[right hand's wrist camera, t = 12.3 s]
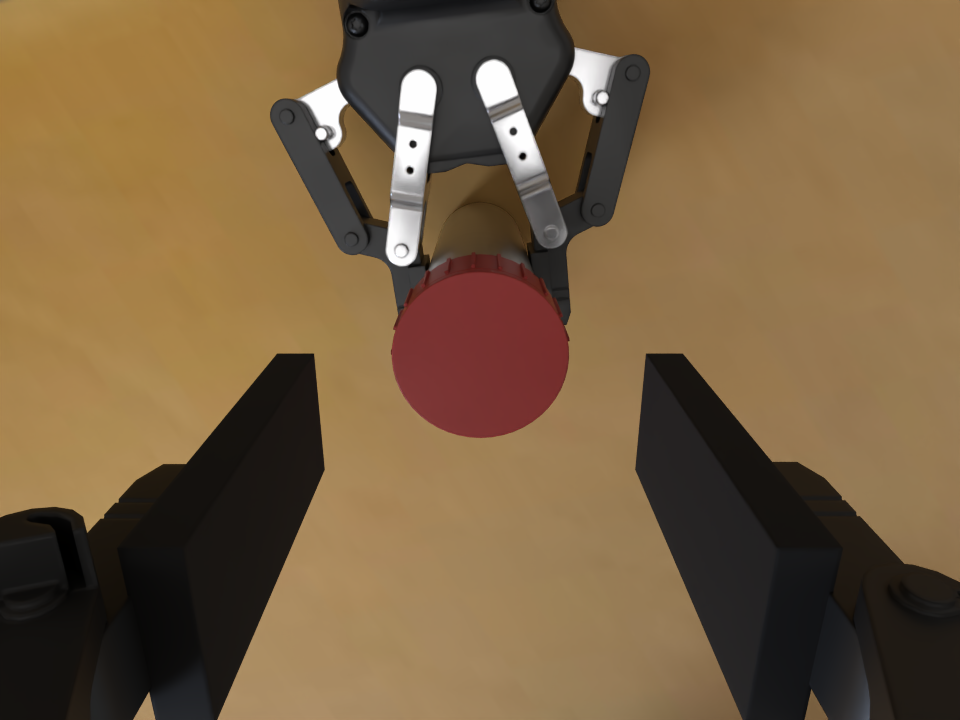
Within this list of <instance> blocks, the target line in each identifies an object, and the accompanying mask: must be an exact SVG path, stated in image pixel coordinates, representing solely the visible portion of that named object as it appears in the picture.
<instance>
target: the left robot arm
mask: <svg viewBox="0 0 960 720" xmlns="http://www.w3.org/2000/svg"><path fill="white" fill-rule="evenodd" d="M338 2H339V8H340V14H341V20H342V26H343V48H342V53H341V57H340V60H339V63H338V66H337V79H335V80H333V81H331V82H329V83H327V84H325V85H324V86H322V87H320V88H318V89H316V90H314V91H312V92H310V93H308V94H306V95H304V96H302V97H300V98H298V99H280V100H278V101H277V102H275V103H274V105H273V106H272V108H271V112H270V118H271V122H272V124H273V126H274V128H275V130H276V132H277V134H278V135H279V137H280V139H281V141H282V143H283V145H284V147H285V148H286V150H287V152H288V154H289V156H290V158H291V160H292V162H293V163H294V165H295V167H296V169H297V171H298V173H299V175H300V176H301V178H302V180H303V182H304V184H305V186H306V188H307V189H308V191H309V193H310V195H311V197H312V199H313V201H314V203H315V204H316V206H317V208H318V210H319V212H320V214H321V216H322V217H323V219H324V221H325V223H326V225H327V227H328V229H329V231H330V232H331V234H332V236H333V238H334V240H335V242H336V244H337V245H338V247H339V249H340V250H341V251H343V252H344V253H346V254H349V255H357V254H362V255H367V256H371V257H375V258H378V259H381V260H382V261H384V262H385V263H386V264H387V265H388V267H389V268H390V271H391V274H392V280H393V286H394V291H395V297H396V303H397V309H398V315H399V313H400V310H401V309H402V310H403V309H404V307H405V306H403V305H404V303H405V300H406V298H407V295H408V293H409V290H410V289H411V288H413V289H414V288H415V286H416V285H417V284H418V283H419V281H420V280H421V279H422V278H423V277H424V275H425V272H426V271H427V270H428V269H429V266H430V258H429V254H428V255H424V254H423V247H422V241H423V234H424V226H425V218H426V210H427V203H428V197H429V192H430V185H431V177H432V173H439V172H446V171H449V170H451V169H453V168H456V167H458V166H461V165H463V164H466V163H470V164H477V165H484V166H495V165H503V164H507V167H508V169H509V172H510V174H511V177H512V179H513V182H514V184H515V187H516V189H517V192H518V195H519V197H520V200H521V202H522V205H523V207H524V210H525V212H526V215H527V218H528V220H529V223H530V229H531V240H532V243H527V250H528V258H529V261H530V264H531V267H532V270H533V273H534V275H535V276H537V277H538V278H539V279H540V278H542V279H543V280H544V283H545V285H546V288H547V290H548V291H549V293H550V294H551V296H552V298H556V300H557V303H558V305H559V307H560V310H561V312H562V315H563V317H561V320H562V321H563V324H564V325H567V322H568V319H569V316H570V313H571V310H570V298H569V284H568V271H567V258H566V250H567V246H568V244H569V242H570V240H571V239H572V238H573V237H574V236H575V235H577V234H579V233H581V232H583V231H585V230H587V229H589V228H591V227H593V226H596V227H598V226H603V225H605V224H606V223H608V222H609V221H610V220H611V218H612V216H613V214H614V210H615V206H616V202H617V198H618V195H619V191H620V187H621V183H622V179H623V175H624V172H625V168H626V164H627V160H628V156H629V152H630V149H631V145H632V141H633V137H634V133H635V129H636V126H637V122H638V118H639V114H640V110H641V106H642V103H643V99H644V95H645V91H646V87H647V83H648V80H649V75H650V68H649V64H648V62H647V61H646V59H644V58H643V57H642V56H640V55H637V54H631V55H625V56H622V57H616V56H612V55H607V54H603V53H598V52H593V51H589V50H584V49H580V48H575V47H574V42H573V39H572V37H571V35H570V33H569V32H568V30H567V28H566V27H565V25H564V24H563V21H562V19H561V17H560V14H559V11H558V7H557V2H556V0H338ZM568 77H570V78H572V79H573V80H574V81H575V82H576V83H577V85H578V87H579V90H580V96H579V103H580V106H581V108H582V110H583V111H584V112H585V113H586V114H588V115H591V116H593V120H592V124H591V129H590V133H589V137H588V141H587V145H586V149H585V154H584V158H583V162H582V166H581V170H580V175H579V179H578V183H577V187H576V191H575V194H573V195H571V196H569V197H567V198H565V199H563V200H561V201H559V202H557V200H556V197H555V194H554V192H553V189H552V186H551V183H550V179H549V176H548V173H547V171H546V168H545V165H544V162H543V160H542V157H541V154H540V152H539V149H538V146H537V144H536V141H535V138H534V137H535V135H536V133H537V132H538V130H539V128H540V126H541V124H542V123H543V121H544V119H545V117H546V115H547V114H548V112H549V110H550V108H551V106H552V105H553V103H554V101H555V99H556V97H557V96H558V94H559V92H560V90H561V88H562V87H563V85H564V83H565V81H566V79H567V78H568ZM349 106H351V107H352V108H353V109H354V110H355V111H356V112H357V113H358V114H359V115H360V116H361V117H362V118H363V120H364V121H365V122H366V123H367V124H368V125H369V126H370V127H371V128H372V129H373V130H374V131H375V132H376V134H377V135H378V136H379V137H380V138H381V139H382V140H383V141H384V142H385V143H386V144H387V145H388V146H389V148H390V149H391V150H392V151H393V152H394V153H395V155H394V164H393V173H392V182H391V191H390V214H389V222H386V221H382V220H378V219H373V217H372V215H371V213H370V211H369V209H368V207H367V205H366V203H365V201H364V199H363V198H362V196H361V194H360V192H359V190H358V188H357V186H356V184H355V182H354V180H353V178H352V176H351V174H350V172H349V170H348V168H347V166H346V164H345V162H344V160H343V158H342V156H341V154H340V152H339V151H338V149H337V148H339V147H340V146H341V145H343V143H344V142H345V140H346V135H347V132H346V128H345V125H344V113H345V111H346V109H347V108H348V107H349Z"/></svg>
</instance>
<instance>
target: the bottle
mask: <svg viewBox="0 0 960 720" xmlns="http://www.w3.org/2000/svg"><path fill="white" fill-rule="evenodd" d="M472 252H475V253H476V254H486V255H494V256H497V254H501V257H503V258H506V259H509V260H512V261H514V262H516V263H518V264H520V263H521V262H522V263H523V264H524V265H525V268H527V269H528V270H530V271H531V272H532V273H533V270H532V267H531V264H530V261H529V258H528V255H527V252H526V249H525V246H524V243H523V240H522V237H521V234H520V231H519V228H518V226H517V224H516V222H515V221H514V219H513V218H512V217H511V216H510V215H509V214H508V213H507V212H506V211H505V210H503V209H502V208H500V207H498V206H496V205H493V204H489V203H472V204H468V205H465V206H463V207H461V208H459V209H457V210H456V211H455V212H453V213H452V214H451V215H450V216H449V218H448V219H447V220H446V222H445V223H444V225H443V227H442V230H441V233H440V236H439V239H438V242H437V245H436V248H435V251H434V254H433V257H432V260H431V263H430V266H429V269H428V270H429V271H431V270H433V269H434V268H436V267H437V266H438V265H440V264H442V263H444V262H446V261H447V258H451V259H454V258H457V257H461V256H466V255H471V254H472ZM533 274H534V273H533Z"/></svg>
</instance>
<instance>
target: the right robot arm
mask: <svg viewBox="0 0 960 720" xmlns="http://www.w3.org/2000/svg"><path fill="white" fill-rule="evenodd" d="M324 470H325V468H324V457H323V446H322V436H321V425H320V414H319V403H318V392H317V381H316V370H315V360H314V354H277V355H276V356H275V357H274V358H273V359H272V361H271V362H270V363H269V364H268V366H267V367H266V368H265V369H264V370H263V372H262V373H261V374H260V375H259V376H258V378H257V379H256V380H255V381H254V383H253V384H252V385H251V386H250V387H249V389H248V390H247V391H246V392H245V393H244V395H243V396H242V397H241V398H240V399H239V401H238V402H237V403H236V404H235V406H234V407H233V408H232V409H231V410H230V412H229V413H228V414H227V415H226V416H225V418H224V419H223V420H222V421H221V423H220V424H219V425H218V426H217V427H216V429H215V430H214V431H213V432H212V433H211V435H210V436H209V437H208V438H207V439H206V441H205V442H204V443H203V444H202V446H201V447H200V448H199V449H198V450H197V452H196V453H195V454H194V455H193V456H192V458H191V459H190V460H189V461H188V462H187V464H163V465H161V466H159V467H158V468H156V469H154V470H153V471H151V472H149V473H148V474H146V475H144V476H143V477H141V478H139V479H137V480H136V481H135V482H134V483H133V484H132V485H131V486H130V487H129V489H128V490H127V491H126V492H125V493H124V494H123V495H122V496H121V497H120V498H119V502H118V503H115V504H114V505H113V506H112V507H111V508H110V509H109V510H108V511H107V512H106V513H105V515H104V519H100V520H99V521H98V522H97V523H96V524H95V525H94V526H93V527H92V529H91V530H90V531H89V532H88V533H87V531H86V527H85V523H84V519H83V517H82V516H81V515H80V514H78V513H77V512H75V511H74V510H71V509H65V508H58V507H48V508H35V509H29V510H25V511H21V512H17V513H13V514H9V515H5V516H3V517H0V720H133V719H134V717H135V715H136V714H137V712H138V710H139V708H140V707H141V705H142V703H143V701H144V699H145V698H146V696H147V694H148V692H149V693H150V697H151V701H152V706H153V710H154V715H155V719H156V720H217V719H218V717H219V714H220V712H221V710H222V707H223V705H224V703H225V700H226V698H227V696H228V693H229V691H230V689H231V686H232V684H233V682H234V679H235V677H236V675H237V672H238V670H239V668H240V665H241V663H242V661H243V658H244V656H245V654H246V651H247V649H248V647H249V644H250V642H251V640H252V637H253V635H254V633H255V630H256V628H257V626H258V623H259V621H260V619H261V617H262V614H263V612H264V610H265V607H266V605H267V603H268V600H269V598H270V596H271V593H272V591H273V589H274V586H275V584H276V582H277V579H278V577H279V575H280V572H281V570H282V568H283V565H284V563H285V561H286V558H287V556H288V554H289V551H290V549H291V547H292V544H293V542H294V540H295V537H296V535H297V533H298V530H299V528H300V526H301V523H302V521H303V519H304V516H305V514H306V512H307V509H308V507H309V505H310V502H311V500H312V498H313V495H314V493H315V491H316V489H317V486H318V484H319V482H320V479H321V477H322V475H323V472H324ZM635 470H636V472H637V475H638V477H639V479H640V482H641V484H642V486H643V489H644V491H645V493H646V495H647V498H648V500H649V502H650V505H651V507H652V509H653V512H654V514H655V516H656V519H657V521H658V523H659V526H660V528H661V530H662V533H663V535H664V537H665V540H666V542H667V544H668V547H669V549H670V551H671V554H672V556H673V558H674V561H675V563H676V565H677V568H678V570H679V572H680V575H681V577H682V579H683V582H684V584H685V586H686V589H687V591H688V593H689V596H690V598H691V600H692V603H693V605H694V607H695V610H696V612H697V614H698V617H699V619H700V621H701V623H702V626H703V628H704V630H705V633H706V635H707V637H708V640H709V642H710V644H711V647H712V649H713V651H714V654H715V656H716V658H717V661H718V663H719V665H720V668H721V670H722V672H723V675H724V677H725V679H726V682H727V684H728V686H729V689H730V691H731V693H732V696H733V698H734V700H735V703H736V705H737V707H738V710H739V712H740V714H741V717H742V719H743V720H804V719H805V715H806V710H807V706H808V701H809V697H810V693H811V689H812V691H813V692H814V694H815V696H816V698H817V699H818V701H819V703H820V705H821V706H822V708H823V710H824V712H825V713H826V715H827V717H828V720H960V582H958V581H956V580H954V579H952V578H950V577H947V576H945V575H943V574H941V573H939V572H937V571H933V570H930V569H926V568H923V567H919V566H915V565H910V564H904V563H903V562H902V561H901V560H900V559H899V558H898V557H897V556H896V554H895V553H894V552H893V551H892V550H891V549H890V548H889V547H888V546H887V545H886V544H885V543H884V542H883V540H882V539H881V538H880V537H879V536H878V535H877V534H876V533H875V532H874V531H873V530H872V529H871V528H870V527H869V525H868V524H867V523H866V522H865V521H864V520H863V519H862V518H861V517H860V516H856V511H855V510H854V509H853V508H852V507H851V506H850V505H849V504H848V503H847V502H846V501H845V500H842V496H841V495H840V494H839V493H838V492H837V491H836V490H835V489H834V488H833V487H832V486H831V485H830V484H829V482H828V481H827V480H826V479H825V478H823V477H822V476H820V475H818V474H817V473H815V472H813V471H812V470H810V469H808V468H806V467H805V466H803V465H801V464H800V463H798V462H772V461H771V460H770V459H769V458H768V456H767V455H766V454H765V453H764V452H763V450H762V449H761V448H760V447H759V446H758V444H757V443H756V442H755V441H754V439H753V438H752V437H751V436H750V435H749V433H748V432H747V431H746V430H745V429H744V427H743V426H742V425H741V424H740V423H739V421H738V420H737V419H736V418H735V416H734V415H733V414H732V413H731V412H730V410H729V409H728V408H727V407H726V406H725V404H724V403H723V402H722V401H721V399H720V398H719V397H718V396H717V395H716V393H715V392H714V391H713V390H712V389H711V387H710V386H709V385H708V384H707V383H706V381H705V380H704V379H703V378H702V376H701V375H700V374H699V373H698V372H697V370H696V369H695V368H694V367H693V366H692V364H691V363H690V362H689V361H688V359H687V358H686V357H685V356H684V355H683V354H646V360H645V370H644V381H643V392H642V403H641V414H640V425H639V436H638V446H637V457H636V468H635Z"/></svg>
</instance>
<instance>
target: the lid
mask: <svg viewBox="0 0 960 720" xmlns="http://www.w3.org/2000/svg"><path fill="white" fill-rule="evenodd" d="M403 306H405V307H404V309H403V310H402V309H401V310H400V313H399V315H398V318H397V320H396V323H395V325H394V328H393V330H396V331H395V334H394V338H393V345H392V350H391V355H392V364H393V371H394V374H395V378H396V381H397V383H398V386H399V388H400V390H401V392H402V394H403V396H404V397H405V399H406V400H407V402H408V403H409V404H410V405H411V407H412V408H413V409H414V410H415V411H416V412H417V413H418V414H419V415H420V416H421V417H423V418H424V419H425V420H427V421H428V422H429V423H431V424H433V425H434V426H436V427H438V428H440V429H442V430H445V431H447V432H450V433H453V434H456V435H460V436H466V437H475V438H485V437H495V436H500V435H505V434H508V433H511V432H514V431H516V430H518V429H521V428H523V427H525V426H526V425H528V424H530V423H531V422H533V421H534V420H535V419H537V418H538V417H539V416H541V415H542V414H543V413H544V412H545V411H546V410H547V409H548V408H549V406H550V405H551V404H552V402H553V401H554V400H555V399H556V397H557V395H558V393H559V392H560V390H561V388H562V385H563V383H564V380H565V377H566V373H567V369H568V361H569V346H568V341H569V336H568V334H567V331H566V329H565V326H564V324H563V321H562V320H561V317H563V315H562V312H561V310H560V307H559V305H558V303H557V300H556V298H552V296H551V294H550V293H549V291H548V290H547V288H546V285H545V283H544V280H543V279H542V278H540V279H539V278H538V277H537V276H535V275H534V274H533V273H532V272H531V271H530V270H528V269H527V268H525V265H524V264H523V263H522V262H521V263H520V264H518V263H516V262H514V261H512V260H509V259H506V258H503V257H501V254H497V256H494V255H486V254H476V253H475V252H472V254H471V255H466V256H461V257H457V258H454V259H451V258H447V261H446V262H444V263H442V264H440V265H438V266H437V267H436V268H434V269H433V270H431V271H429V270H427V271H426V272H425V275H424V277H423V278H422V279H421V280H420V281H419V283H418V284H417V285H416V286H415V288H414V289H413V288H411V289H410V290H409V293H408V295H407V298H406V300H405V303H404V305H403Z"/></svg>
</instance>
